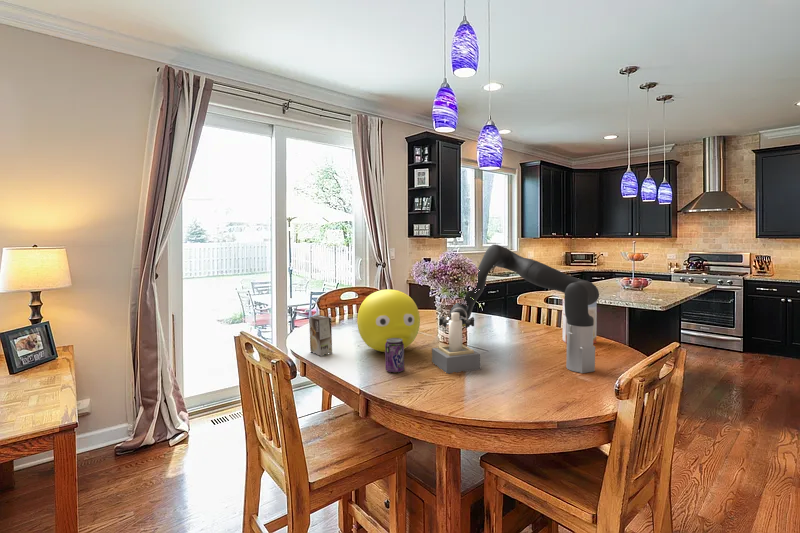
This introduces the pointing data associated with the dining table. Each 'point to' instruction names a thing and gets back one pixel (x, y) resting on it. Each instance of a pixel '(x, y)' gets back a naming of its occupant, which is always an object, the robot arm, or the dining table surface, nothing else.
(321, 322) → the coffee box
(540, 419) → the dining table surface
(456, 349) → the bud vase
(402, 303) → the head sculpture
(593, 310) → the cracker box
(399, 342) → the beverage can
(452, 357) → the display riser
